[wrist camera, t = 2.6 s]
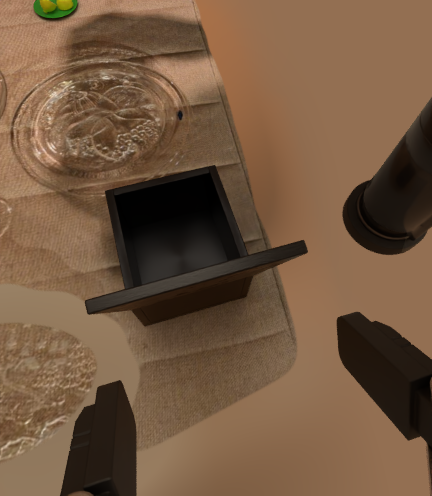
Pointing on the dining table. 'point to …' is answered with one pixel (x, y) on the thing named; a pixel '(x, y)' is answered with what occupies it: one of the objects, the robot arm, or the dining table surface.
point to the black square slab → (194, 280)
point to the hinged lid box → (176, 238)
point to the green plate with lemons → (54, 7)
